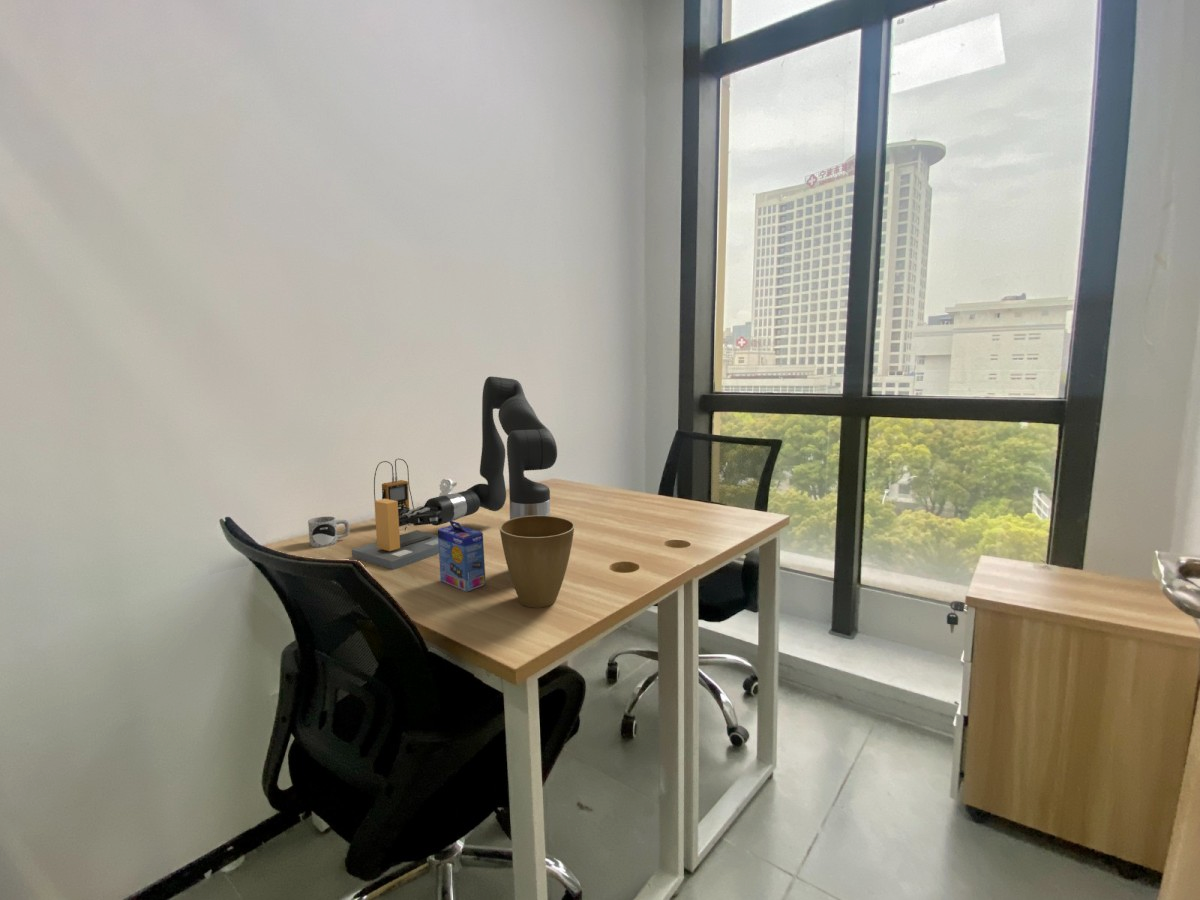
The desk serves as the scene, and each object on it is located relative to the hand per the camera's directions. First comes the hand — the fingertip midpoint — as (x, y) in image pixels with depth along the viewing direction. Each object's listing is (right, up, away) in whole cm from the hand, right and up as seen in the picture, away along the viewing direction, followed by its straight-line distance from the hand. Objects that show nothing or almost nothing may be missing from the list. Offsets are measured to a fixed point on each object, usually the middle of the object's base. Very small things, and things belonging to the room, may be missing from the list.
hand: (392, 523), depth 140 cm
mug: (-21, -7, +12) cm, 26 cm away
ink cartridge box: (+22, -11, -17) cm, 30 cm away
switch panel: (+2, -8, +4) cm, 9 cm away
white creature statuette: (+2, -3, +41) cm, 41 cm away
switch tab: (-1, -6, 0) cm, 6 cm away
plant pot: (+39, -13, -26) cm, 49 cm away
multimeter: (-7, -5, +27) cm, 29 cm away
